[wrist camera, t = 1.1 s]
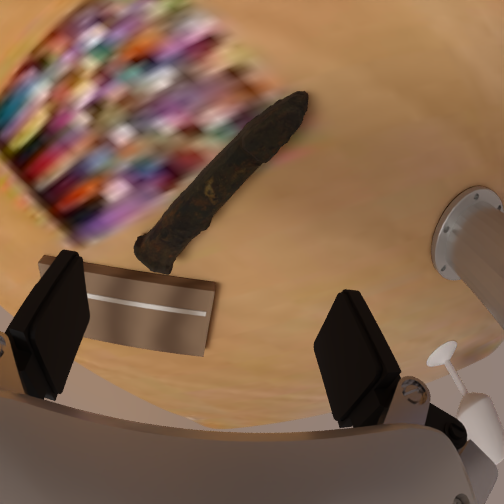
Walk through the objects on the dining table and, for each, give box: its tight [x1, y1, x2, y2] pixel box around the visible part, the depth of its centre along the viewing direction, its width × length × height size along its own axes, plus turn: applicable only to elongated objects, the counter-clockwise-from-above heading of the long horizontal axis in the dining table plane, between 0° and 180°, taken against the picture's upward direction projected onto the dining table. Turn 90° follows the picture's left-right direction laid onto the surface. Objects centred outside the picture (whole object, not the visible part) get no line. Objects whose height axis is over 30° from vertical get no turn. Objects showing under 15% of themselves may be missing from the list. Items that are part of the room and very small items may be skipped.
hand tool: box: [134, 91, 308, 275], centre depth 23 cm, size 19×4×5 cm, turn 134°
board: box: [38, 255, 215, 357], centre depth 30 cm, size 19×10×2 cm, turn 78°
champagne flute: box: [427, 341, 504, 465], centre depth 33 cm, size 7×7×24 cm
